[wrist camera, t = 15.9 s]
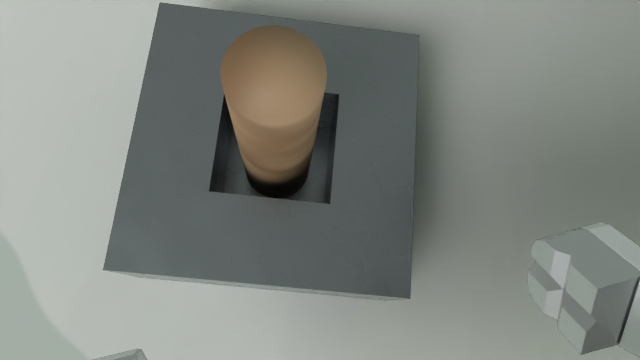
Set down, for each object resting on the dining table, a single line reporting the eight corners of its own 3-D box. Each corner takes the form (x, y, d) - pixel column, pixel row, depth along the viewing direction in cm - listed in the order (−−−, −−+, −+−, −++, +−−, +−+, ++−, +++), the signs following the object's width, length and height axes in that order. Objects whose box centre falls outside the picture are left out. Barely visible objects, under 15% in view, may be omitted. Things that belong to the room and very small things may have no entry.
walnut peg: (311, 141, 24) (331, 32, 14) (305, 201, 23) (322, 127, 14) (249, 134, 24) (228, 19, 14) (241, 194, 23) (212, 114, 13)
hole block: (396, 80, 26) (419, 35, 22) (385, 300, 23) (410, 298, 18) (180, 54, 25) (159, 2, 21) (137, 277, 22) (103, 269, 18)
